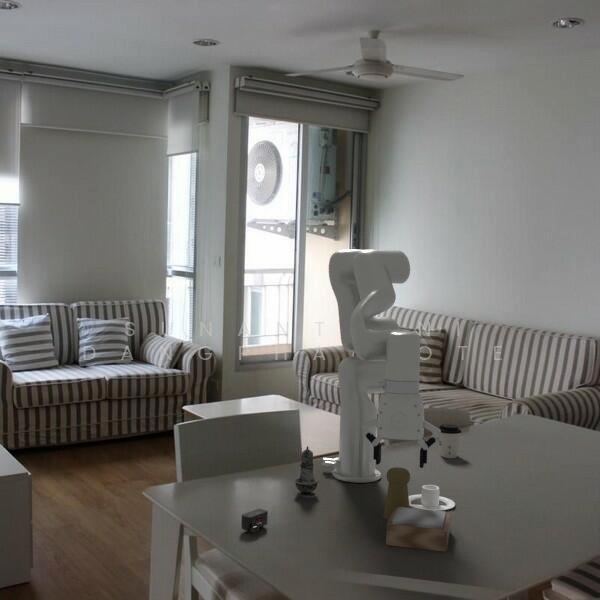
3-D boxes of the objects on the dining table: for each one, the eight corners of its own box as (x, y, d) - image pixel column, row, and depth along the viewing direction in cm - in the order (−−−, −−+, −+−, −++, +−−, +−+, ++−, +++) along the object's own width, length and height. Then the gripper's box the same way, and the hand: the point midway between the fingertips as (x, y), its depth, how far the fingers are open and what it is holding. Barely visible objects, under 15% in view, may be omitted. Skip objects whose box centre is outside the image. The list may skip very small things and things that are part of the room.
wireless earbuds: (237, 530, 166) (237, 515, 166) (259, 522, 171) (259, 508, 171) (253, 535, 163) (253, 520, 163) (274, 527, 168) (275, 512, 168)
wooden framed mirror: (385, 544, 159) (386, 522, 159) (393, 525, 171) (394, 504, 171) (446, 551, 157) (447, 528, 156) (449, 531, 168) (450, 510, 168)
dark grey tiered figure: (322, 494, 193) (323, 445, 192) (312, 500, 187) (313, 450, 187) (300, 490, 195) (301, 442, 194) (289, 496, 190) (291, 447, 189)
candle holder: (416, 515, 180) (417, 496, 180) (395, 498, 191) (396, 481, 191) (464, 511, 183) (465, 493, 183) (440, 496, 195) (441, 478, 195)
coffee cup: (464, 459, 230) (465, 425, 230) (455, 464, 224) (456, 429, 224) (441, 455, 234) (442, 422, 234) (432, 460, 228) (433, 426, 228)
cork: (393, 523, 173) (395, 473, 172) (378, 514, 178) (379, 466, 178) (415, 519, 176) (417, 470, 175) (400, 511, 181) (402, 463, 180)
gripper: (360, 387, 174) (358, 465, 174) (440, 392, 169) (438, 471, 170) (365, 383, 181) (364, 458, 181) (442, 387, 177) (440, 464, 177)
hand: (399, 464), depth 176 cm, fingers open, 9 cm apart
